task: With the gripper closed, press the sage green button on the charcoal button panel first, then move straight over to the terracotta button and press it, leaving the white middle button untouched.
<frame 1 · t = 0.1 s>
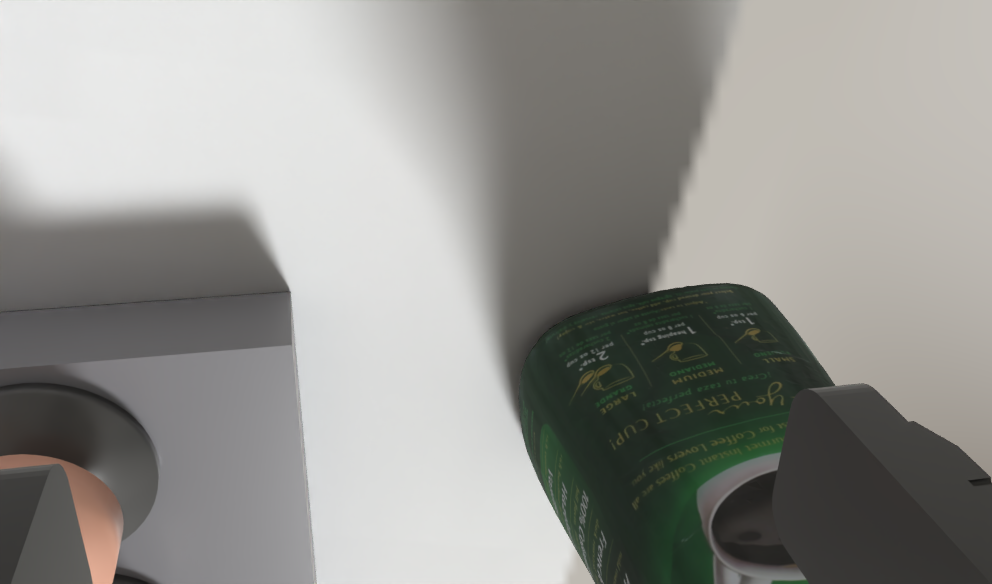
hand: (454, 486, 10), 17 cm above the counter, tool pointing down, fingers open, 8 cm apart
terracotta button: (22, 546, 23), point 6 cm above the counter, slide at 0.0 cm
coffee jar: (645, 373, 33), on the counter
button panel: (107, 570, 32), on the counter
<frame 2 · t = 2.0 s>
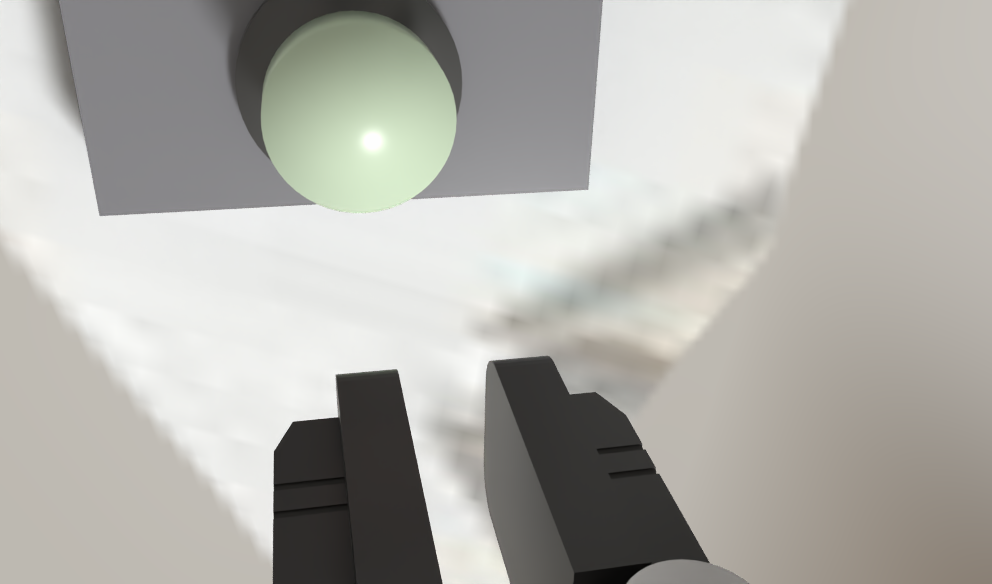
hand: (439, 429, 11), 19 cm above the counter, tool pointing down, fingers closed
sage button: (358, 113, 22), point 6 cm above the counter, slide at 0.0 cm
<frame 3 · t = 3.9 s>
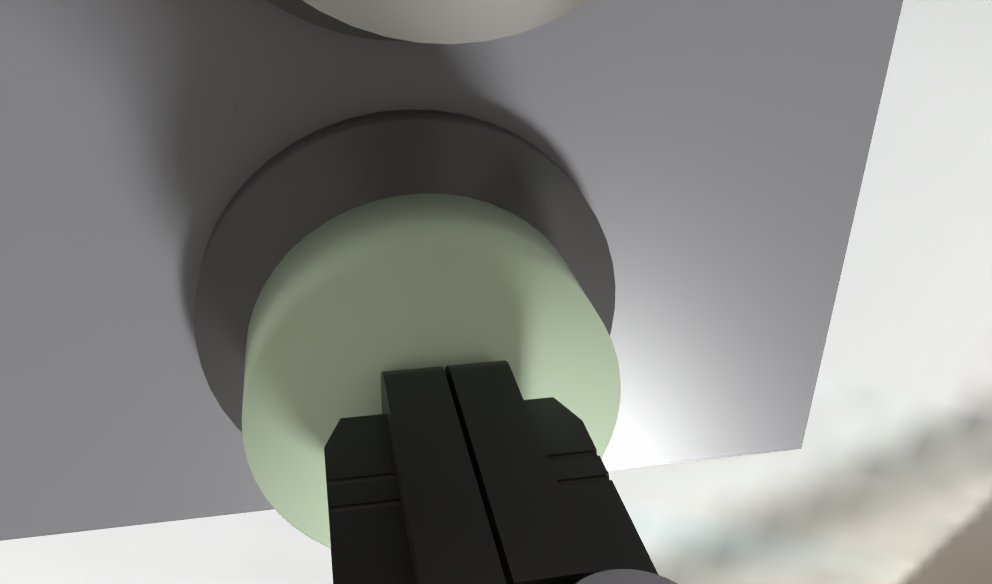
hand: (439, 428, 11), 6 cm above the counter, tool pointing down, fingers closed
sage button: (429, 383, 12), point 5 cm above the counter, slide at 0.9 cm, touching gripper
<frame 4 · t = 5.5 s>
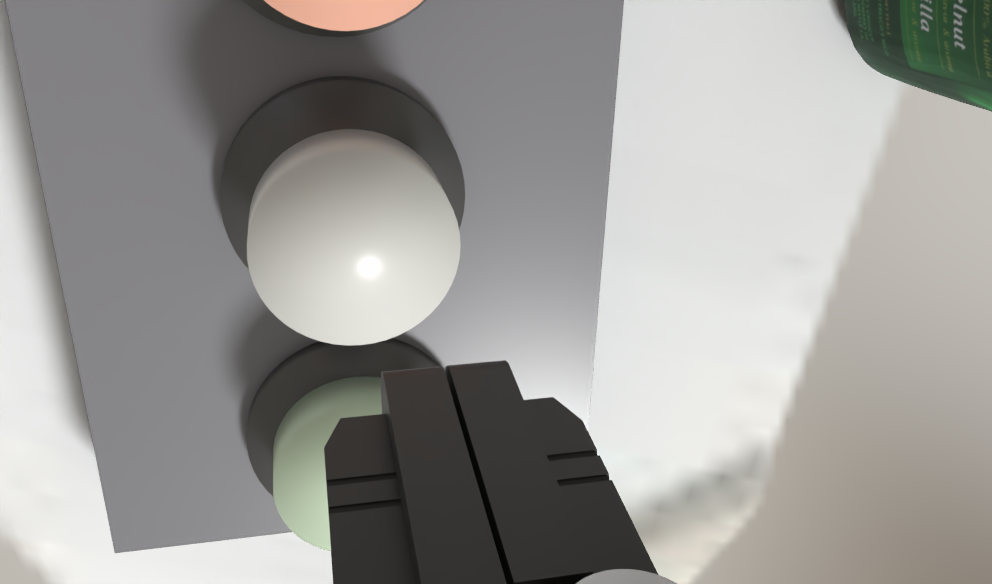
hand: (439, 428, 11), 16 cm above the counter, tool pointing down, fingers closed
white button: (353, 238, 21), point 6 cm above the counter, slide at 0.0 cm
sage button: (361, 465, 25), point 5 cm above the counter, slide at 1.0 cm
button panel: (337, 159, 26), on the counter
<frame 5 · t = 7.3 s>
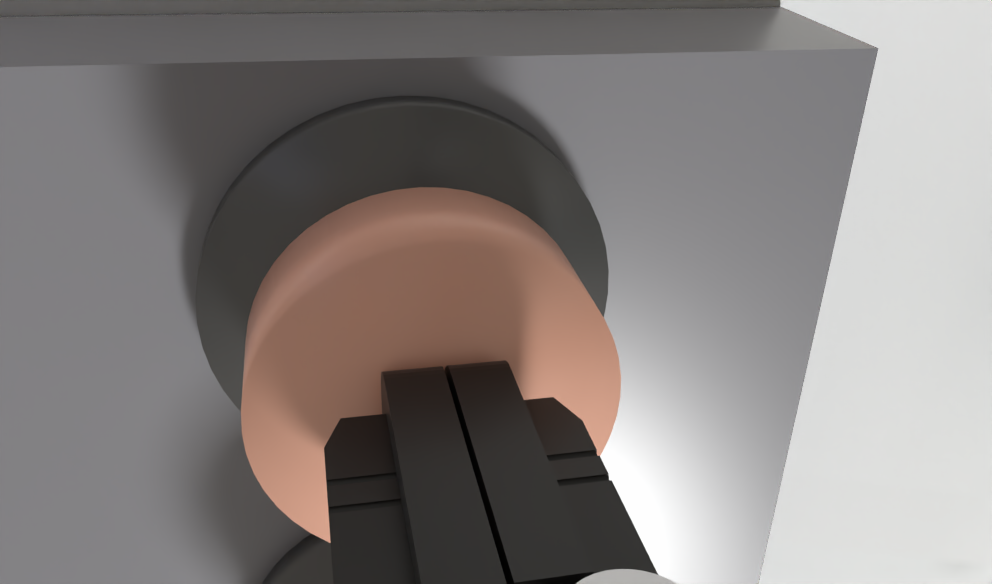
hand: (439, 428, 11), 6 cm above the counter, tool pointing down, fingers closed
terracotta button: (429, 378, 12), point 5 cm above the counter, slide at 0.5 cm, touching gripper
button panel: (395, 513, 20), on the counter
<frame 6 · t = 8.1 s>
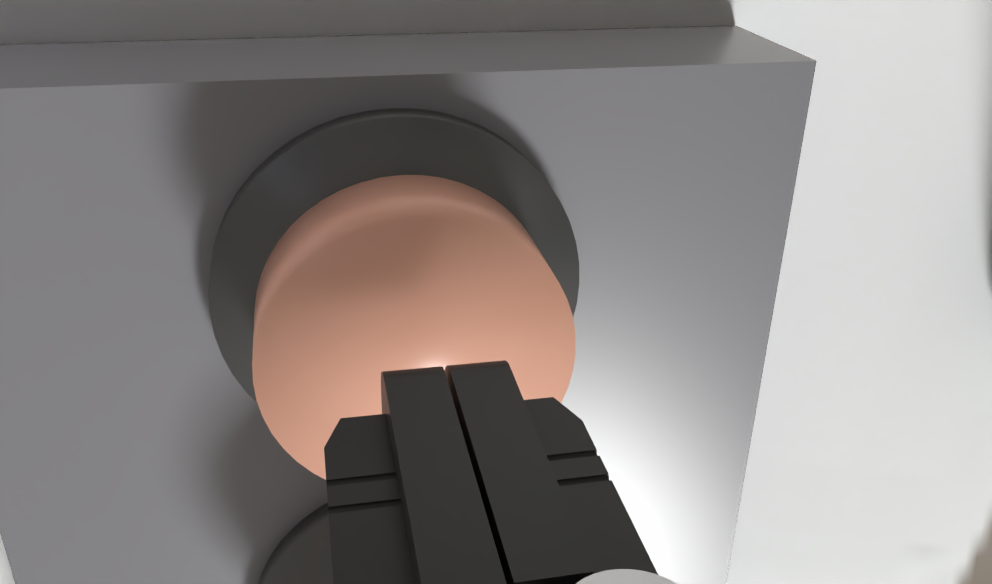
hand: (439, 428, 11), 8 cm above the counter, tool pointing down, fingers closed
terracotta button: (412, 338, 14), point 5 cm above the counter, slide at 1.1 cm
button panel: (392, 500, 21), on the counter
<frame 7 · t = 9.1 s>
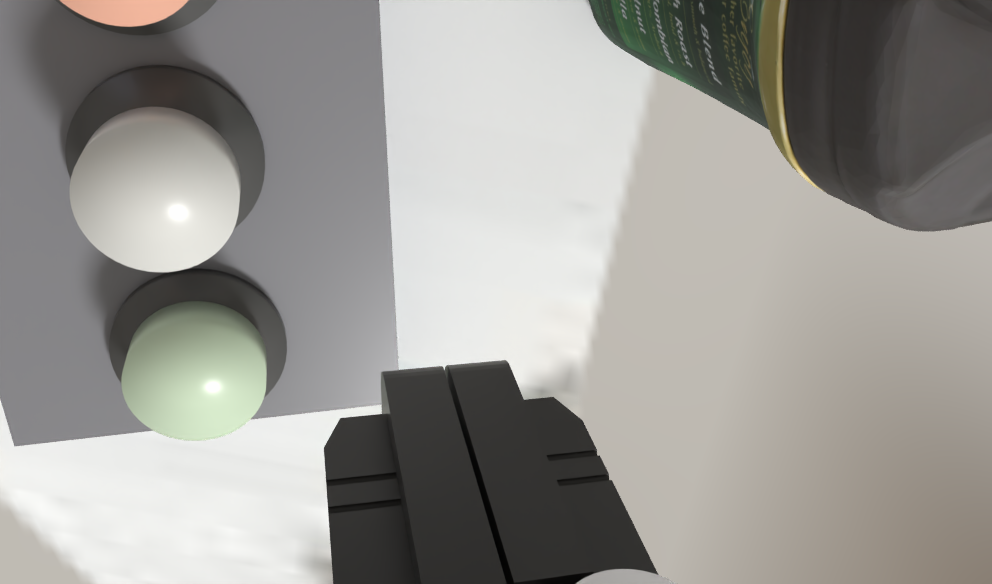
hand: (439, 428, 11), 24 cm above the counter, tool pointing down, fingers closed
white button: (159, 190, 27), point 6 cm above the counter, slide at 0.0 cm
sage button: (196, 371, 31), point 5 cm above the counter, slide at 1.0 cm
button panel: (178, 129, 32), on the counter
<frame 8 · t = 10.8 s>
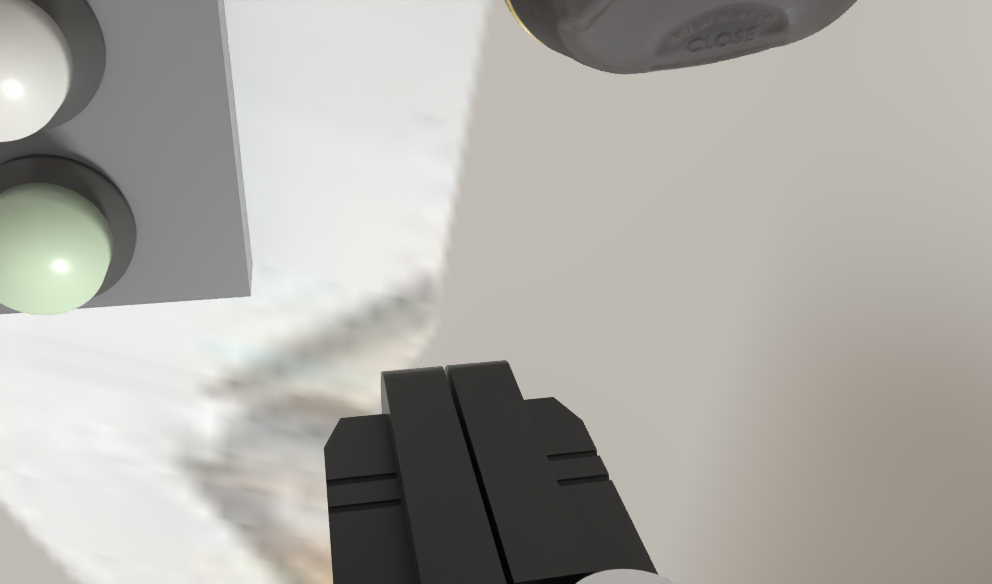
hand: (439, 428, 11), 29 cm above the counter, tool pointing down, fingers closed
sage button: (42, 249, 34), point 5 cm above the counter, slide at 1.0 cm
button panel: (33, 26, 35), on the counter
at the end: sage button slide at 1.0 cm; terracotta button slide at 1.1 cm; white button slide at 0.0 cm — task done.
